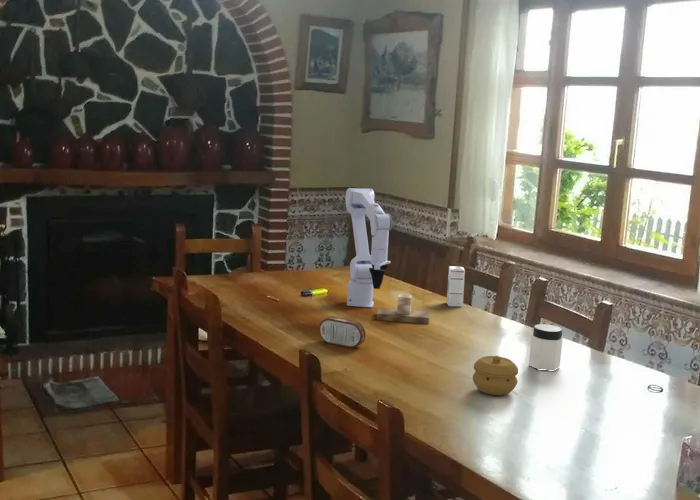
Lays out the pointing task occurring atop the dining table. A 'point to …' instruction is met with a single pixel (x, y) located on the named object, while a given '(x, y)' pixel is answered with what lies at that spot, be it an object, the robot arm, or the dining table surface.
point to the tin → (342, 332)
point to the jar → (546, 347)
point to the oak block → (404, 304)
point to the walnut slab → (403, 316)
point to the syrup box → (455, 286)
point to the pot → (495, 375)
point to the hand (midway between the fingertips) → (377, 286)
